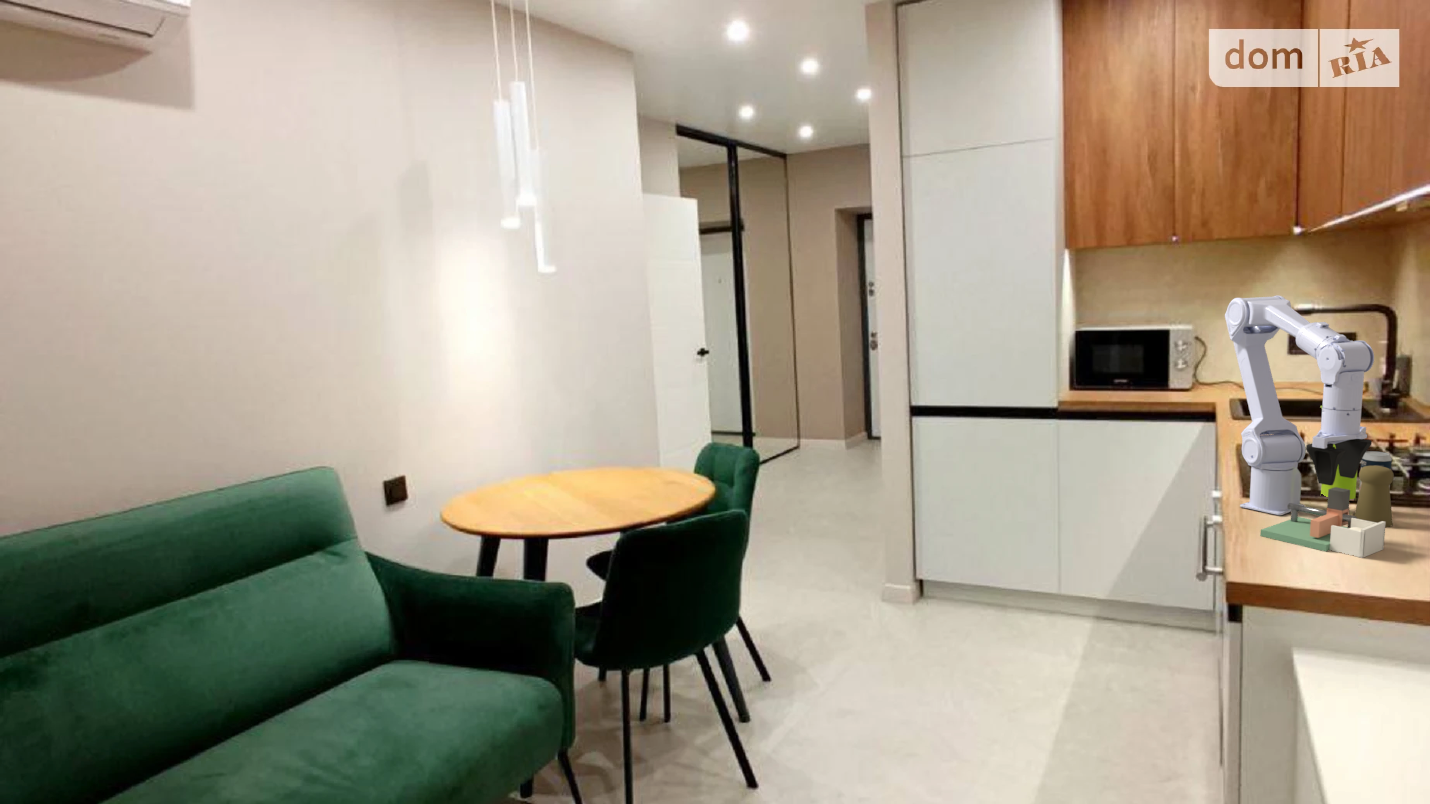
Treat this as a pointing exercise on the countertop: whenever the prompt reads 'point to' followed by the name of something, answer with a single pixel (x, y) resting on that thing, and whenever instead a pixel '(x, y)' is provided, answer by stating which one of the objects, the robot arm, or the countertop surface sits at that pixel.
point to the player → (1332, 513)
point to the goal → (1358, 538)
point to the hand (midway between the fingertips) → (1336, 480)
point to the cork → (1375, 495)
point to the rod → (1313, 512)
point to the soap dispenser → (1341, 483)
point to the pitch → (1297, 534)
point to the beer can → (1376, 461)
